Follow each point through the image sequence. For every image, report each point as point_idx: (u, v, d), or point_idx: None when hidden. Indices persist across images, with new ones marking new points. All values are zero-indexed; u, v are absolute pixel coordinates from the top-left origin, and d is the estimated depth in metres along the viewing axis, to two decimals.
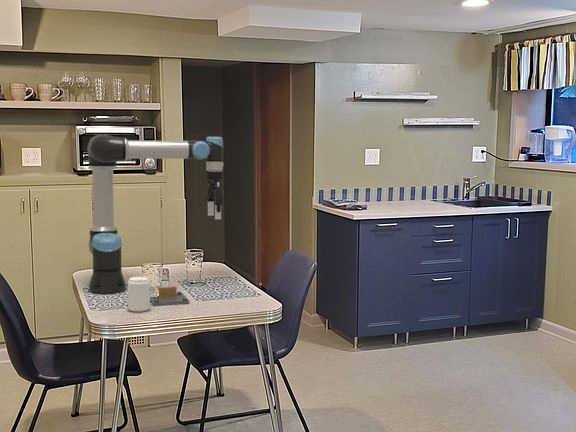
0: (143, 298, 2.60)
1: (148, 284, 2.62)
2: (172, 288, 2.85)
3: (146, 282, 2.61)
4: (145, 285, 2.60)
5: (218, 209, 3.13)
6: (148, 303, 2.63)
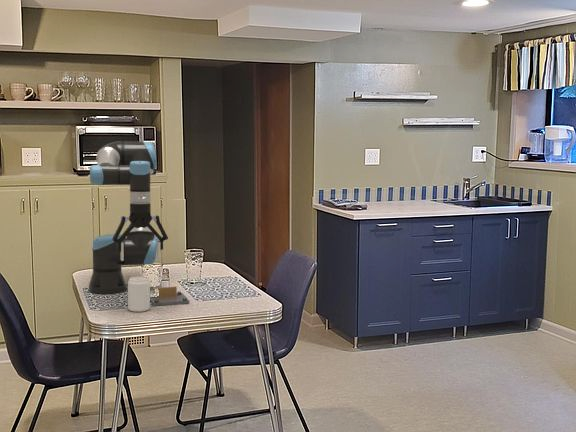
0: (143, 298, 2.60)
1: (148, 284, 2.62)
2: (172, 288, 2.85)
3: (146, 282, 2.61)
4: (145, 285, 2.60)
5: (117, 248, 2.59)
6: (148, 303, 2.63)
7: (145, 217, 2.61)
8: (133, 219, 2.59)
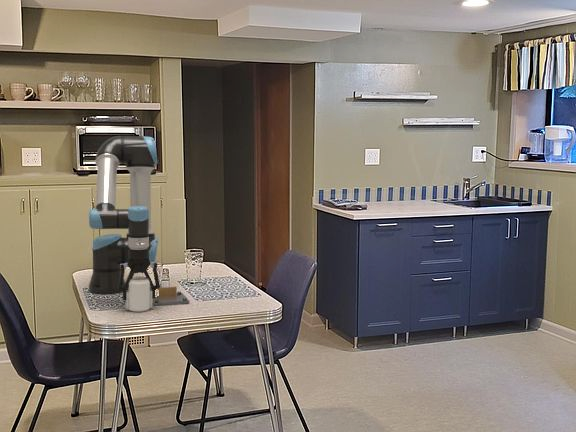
0: (143, 298, 2.60)
1: (148, 284, 2.62)
2: (172, 288, 2.85)
3: (146, 282, 2.61)
4: (145, 285, 2.60)
5: None
6: (148, 303, 2.63)
7: (144, 261, 2.62)
8: (132, 264, 2.60)
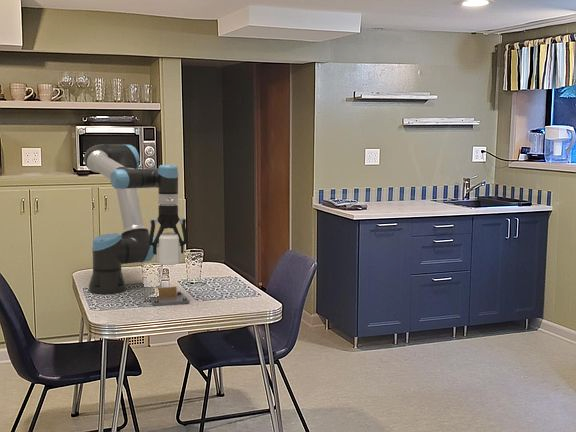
0: (173, 252, 2.73)
1: (177, 239, 2.74)
2: (172, 288, 2.85)
3: (175, 237, 2.73)
4: (175, 239, 2.73)
5: (153, 251, 2.74)
6: (177, 257, 2.75)
7: (173, 217, 2.74)
8: (162, 220, 2.73)
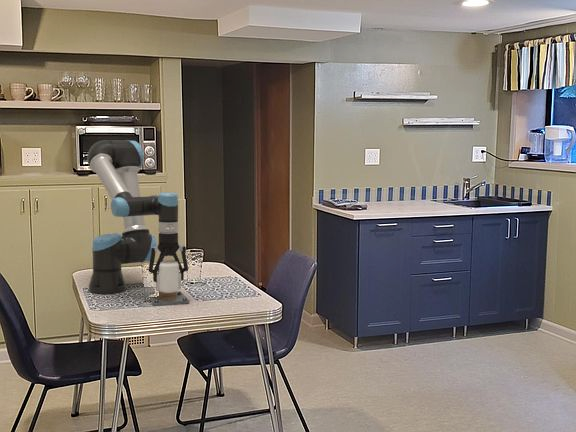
0: (173, 280, 2.74)
1: (177, 266, 2.76)
2: None
3: (175, 264, 2.75)
4: (175, 267, 2.74)
5: (153, 278, 2.75)
6: (177, 285, 2.76)
7: (173, 245, 2.75)
8: (162, 247, 2.74)
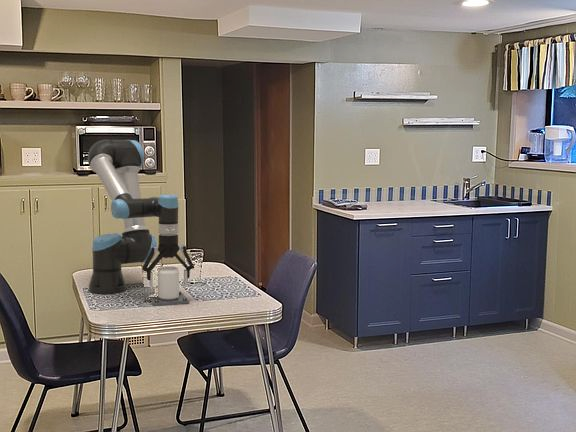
0: (173, 287, 2.74)
1: (177, 273, 2.76)
2: None
3: (175, 272, 2.75)
4: (175, 274, 2.74)
5: (147, 277, 2.75)
6: (177, 292, 2.77)
7: (173, 248, 2.75)
8: (162, 250, 2.74)
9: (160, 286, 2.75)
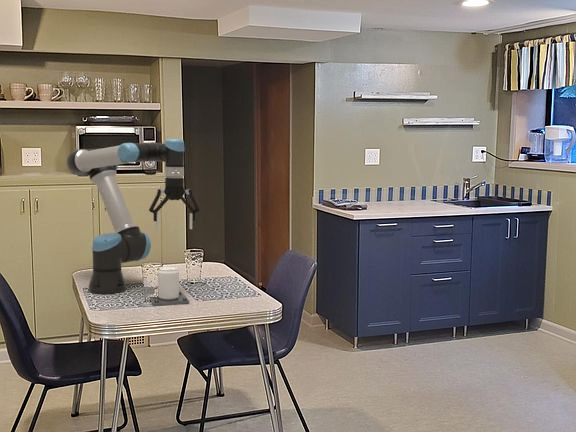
0: (173, 287, 2.74)
1: (177, 273, 2.76)
2: None
3: (175, 272, 2.75)
4: (175, 274, 2.74)
5: (153, 218, 2.84)
6: (177, 292, 2.77)
7: (179, 190, 2.85)
8: (168, 192, 2.83)
9: (160, 286, 2.75)
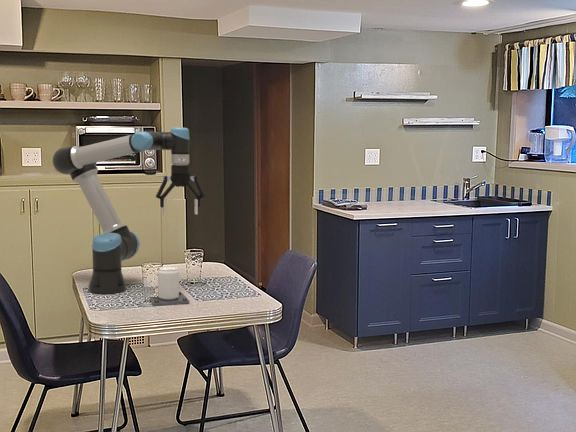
0: (173, 287, 2.74)
1: (177, 273, 2.76)
2: None
3: (175, 272, 2.75)
4: (175, 274, 2.74)
5: (160, 204, 2.95)
6: (177, 292, 2.77)
7: (184, 177, 2.95)
8: (174, 179, 2.94)
9: (160, 286, 2.75)
